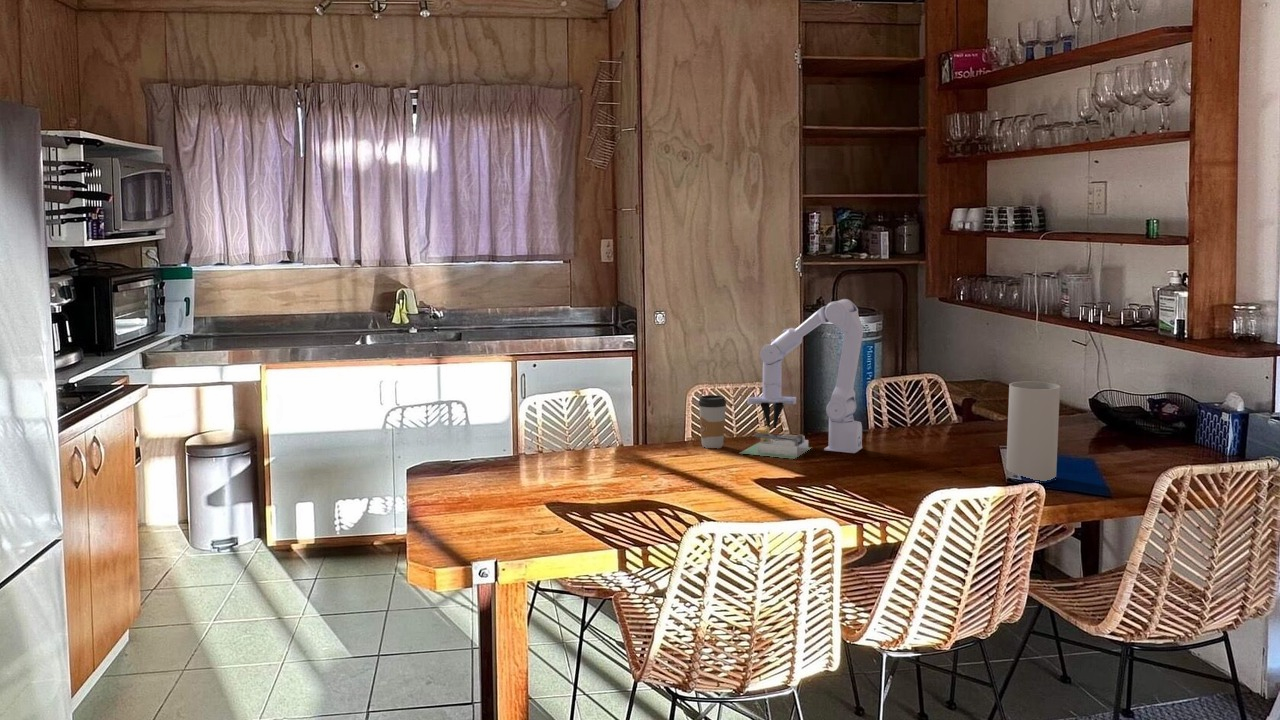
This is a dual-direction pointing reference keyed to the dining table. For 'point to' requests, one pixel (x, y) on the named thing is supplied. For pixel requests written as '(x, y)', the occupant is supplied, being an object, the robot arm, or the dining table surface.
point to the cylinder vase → (1033, 429)
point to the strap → (774, 436)
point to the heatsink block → (784, 446)
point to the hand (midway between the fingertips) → (771, 427)
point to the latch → (762, 431)
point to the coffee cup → (712, 420)
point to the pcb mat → (754, 451)
